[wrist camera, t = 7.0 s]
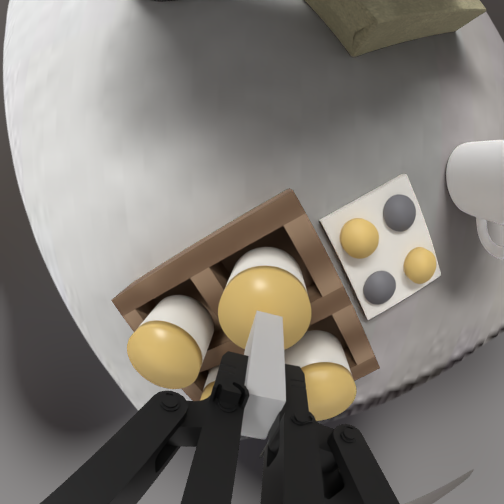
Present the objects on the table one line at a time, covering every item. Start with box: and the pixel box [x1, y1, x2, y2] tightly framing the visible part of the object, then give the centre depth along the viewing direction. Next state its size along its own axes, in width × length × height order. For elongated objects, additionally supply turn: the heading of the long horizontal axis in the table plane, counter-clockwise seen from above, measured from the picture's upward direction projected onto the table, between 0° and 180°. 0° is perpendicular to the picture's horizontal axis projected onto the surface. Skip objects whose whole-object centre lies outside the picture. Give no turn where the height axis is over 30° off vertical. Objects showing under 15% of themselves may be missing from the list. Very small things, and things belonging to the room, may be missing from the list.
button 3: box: [218, 247, 311, 350], centre depth 20 cm, size 6×6×6 cm
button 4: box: [284, 330, 356, 421], centre depth 22 cm, size 6×6×6 cm
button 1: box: [127, 295, 214, 389], centre depth 22 cm, size 6×6×6 cm
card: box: [319, 174, 441, 320], centre depth 25 cm, size 12×10×2 cm
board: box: [112, 188, 380, 401], centre depth 27 cm, size 20×20×5 cm
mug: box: [446, 140, 504, 259], centre depth 18 cm, size 12×8×10 cm
